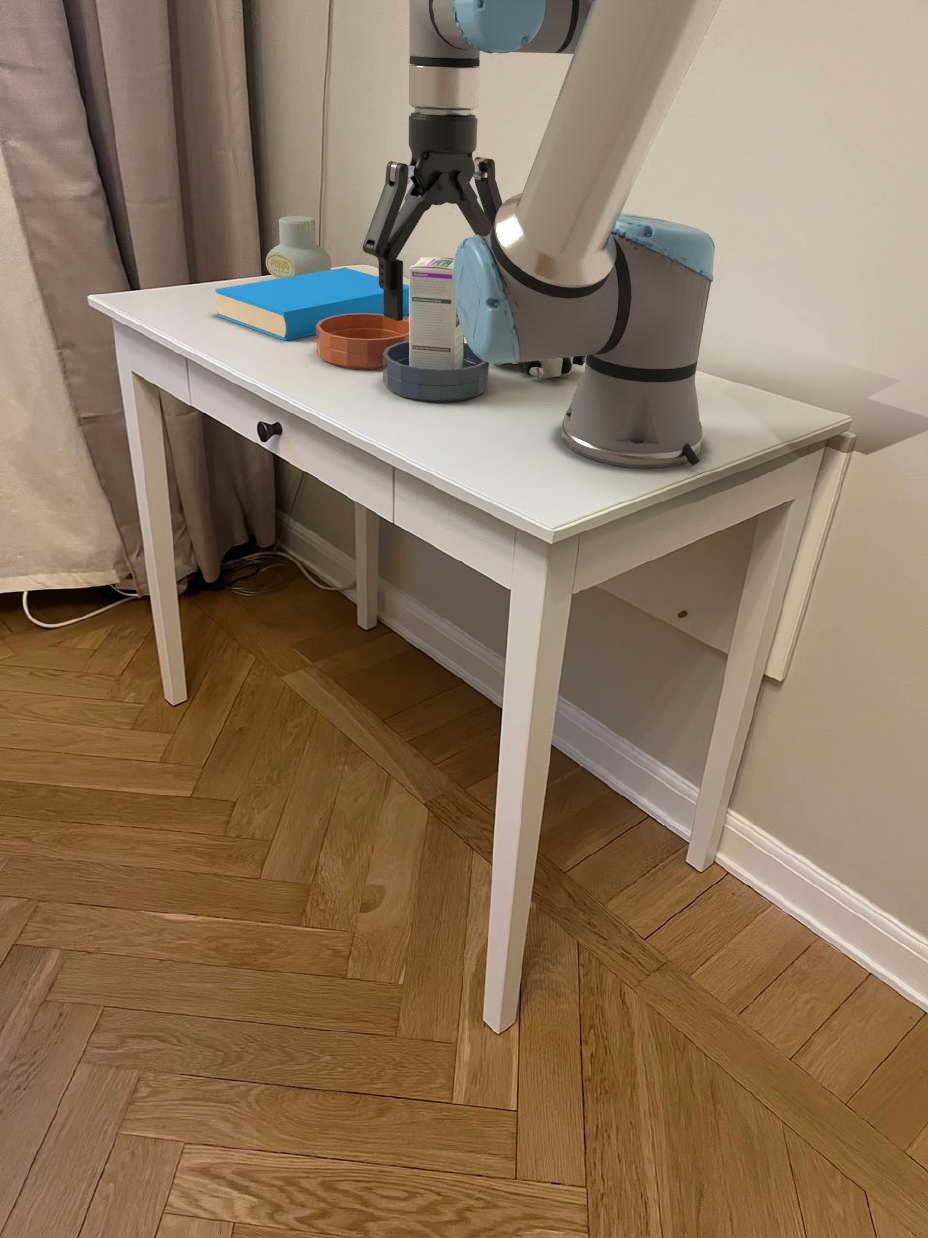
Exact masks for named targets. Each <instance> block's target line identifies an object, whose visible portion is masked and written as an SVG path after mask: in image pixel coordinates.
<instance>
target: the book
mask: <svg viewBox="0 0 928 1238" xmlns="http://www.w3.org/2000/svg"><path fill="white" fill-rule="evenodd" d="M215 293H216V298H217V310H218V313H217V317H219V318H222V319H225V320H227V321H230V322H233V323H236V324H239V325H241V326H244V327H247V328H249V329H252V330H255V331H257V332H260V333H263V334H266V335H269V336H271V337H274V338H277V339H280V340H282V341H285V342H287V341H291V340H296V339H301V338H304V337H309V336H314V335H315V336H316V325H317V323H318V322H319V321H320V320H323V319H325V318H328V317H331V316H336V315H343V314H355V313H371V314H384V289H381V288H380V286H379V276H377V275H374V274H370V273H366V272H364V271H363V272H362V271H359V270H355V269H352V268H348V267H339V268H334V269H333V268H332V269H330V270H327V271H321V272H315V273H309V274H303V275H297V276H291V277H285V278H279V279H277V278H273V279H268V280H267V279H266V280H263V281H262V280H261V281H254V282H249V283H244V284H237V285H232V286H231V285H230V286H225V287H220V288H215ZM406 315H409V284H405V283H403V316H406Z"/></svg>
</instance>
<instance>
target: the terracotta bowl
mask: <svg viewBox="0 0 928 1238" xmlns="http://www.w3.org/2000/svg"><path fill="white" fill-rule="evenodd" d="M315 339H316V340H315V342H316V353H317V355H318V357H319V358H320V359H322V360H324V361H326V362H327V363H329V364H331V365H334V366H338V367H342V368H347V369H355V370H381V369H382V370H383V353H384V351H385V349H386V348H387V347H389V346H392V345H394V344H396V343H400V342H406V341H409V319H405V318H403V320H400V321H397V320H394V319H391V318H388V317H385V316H384V314H371V313H355V314H343V315H336V316H331V317H328V318H325V319H323V320H320V321H319V322H318V323H317V325H316V334H315Z"/></svg>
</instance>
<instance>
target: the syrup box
mask: <svg viewBox="0 0 928 1238" xmlns="http://www.w3.org/2000/svg"><path fill="white" fill-rule="evenodd" d="M454 260H455V257H445V256H421V257H420V258H419V259H418V260H417V261H416V262H414V263H413V264H412V265H411V266H410V267H409V268H408V285H409V314H408V321H409V366H412V367H417V368H423V369H438V370H446V369H462V368H463V364H464V343H465V337H464V334H463V332H462V329H461V326H460V322H459V318H458V314H457V309H456V303H455V296H454V283H453V270H454Z"/></svg>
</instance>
